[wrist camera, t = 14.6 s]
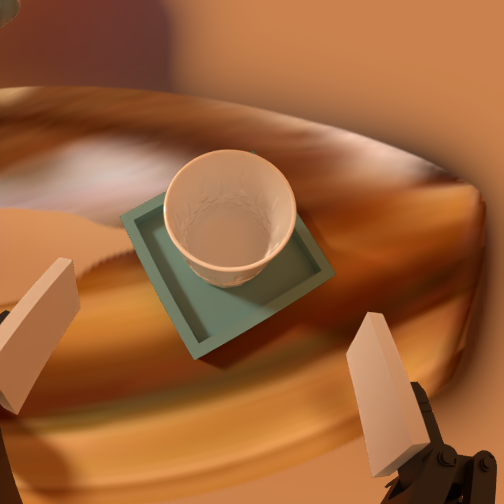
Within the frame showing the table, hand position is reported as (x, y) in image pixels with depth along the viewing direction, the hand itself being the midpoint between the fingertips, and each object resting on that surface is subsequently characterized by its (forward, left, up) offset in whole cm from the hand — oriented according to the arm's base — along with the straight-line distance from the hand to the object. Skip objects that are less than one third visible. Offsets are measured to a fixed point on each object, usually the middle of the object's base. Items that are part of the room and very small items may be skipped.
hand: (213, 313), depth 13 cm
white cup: (-5, +4, -14) cm, 15 cm away
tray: (-5, +4, -14) cm, 16 cm away
